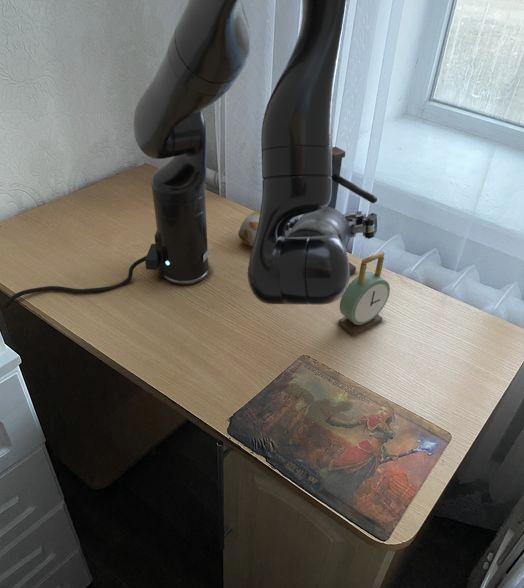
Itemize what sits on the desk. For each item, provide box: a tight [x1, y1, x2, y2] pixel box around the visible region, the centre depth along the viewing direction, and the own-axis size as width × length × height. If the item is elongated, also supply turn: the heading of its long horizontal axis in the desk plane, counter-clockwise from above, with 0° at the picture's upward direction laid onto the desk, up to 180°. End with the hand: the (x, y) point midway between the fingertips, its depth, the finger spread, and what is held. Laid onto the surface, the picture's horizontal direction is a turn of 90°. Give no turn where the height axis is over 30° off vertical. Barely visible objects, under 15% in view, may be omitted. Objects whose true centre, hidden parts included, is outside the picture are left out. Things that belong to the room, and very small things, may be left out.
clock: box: [337, 251, 391, 336], centre depth 92 cm, size 9×4×14 cm, turn 126°
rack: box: [327, 146, 378, 277], centre depth 98 cm, size 16×10×24 cm, turn 36°
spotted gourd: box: [237, 211, 260, 247], centre depth 112 cm, size 8×10×10 cm
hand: (332, 219), depth 85 cm, fingers open, 8 cm apart
